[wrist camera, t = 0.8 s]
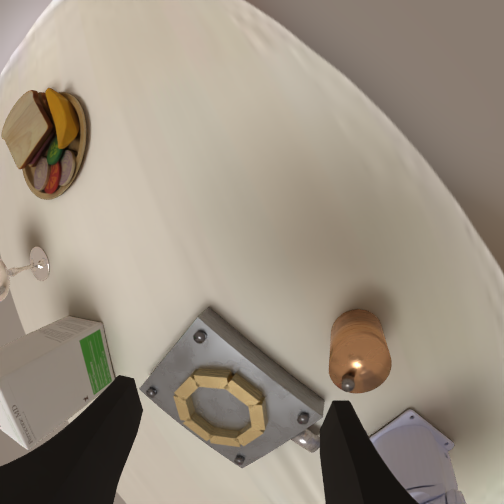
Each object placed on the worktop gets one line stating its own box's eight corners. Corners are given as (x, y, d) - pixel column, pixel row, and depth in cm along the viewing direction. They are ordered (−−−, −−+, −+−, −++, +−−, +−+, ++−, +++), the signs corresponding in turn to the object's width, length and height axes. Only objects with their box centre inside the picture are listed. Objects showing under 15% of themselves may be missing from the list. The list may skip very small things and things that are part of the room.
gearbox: (345, 416, 27) (345, 441, 23) (267, 466, 30) (260, 488, 27) (208, 306, 28) (191, 322, 24) (150, 377, 31) (133, 394, 28)
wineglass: (43, 294, 34) (-28, 324, 22) (23, 260, 34) (-47, 282, 23) (58, 267, 32) (-23, 294, 21) (36, 231, 32) (-42, 249, 21)
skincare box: (117, 382, 33) (32, 455, 18) (80, 370, 35) (-3, 429, 20) (102, 319, 32) (-5, 382, 17) (65, 311, 33) (-33, 361, 18)
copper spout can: (356, 298, 24) (362, 333, 18) (392, 331, 24) (406, 372, 18) (320, 335, 26) (314, 377, 19) (355, 364, 25) (358, 411, 19)
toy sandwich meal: (44, 218, 32) (14, 223, 27) (19, 131, 31) (-7, 129, 27) (107, 159, 28) (74, 157, 24) (75, 67, 27) (46, 58, 23)
